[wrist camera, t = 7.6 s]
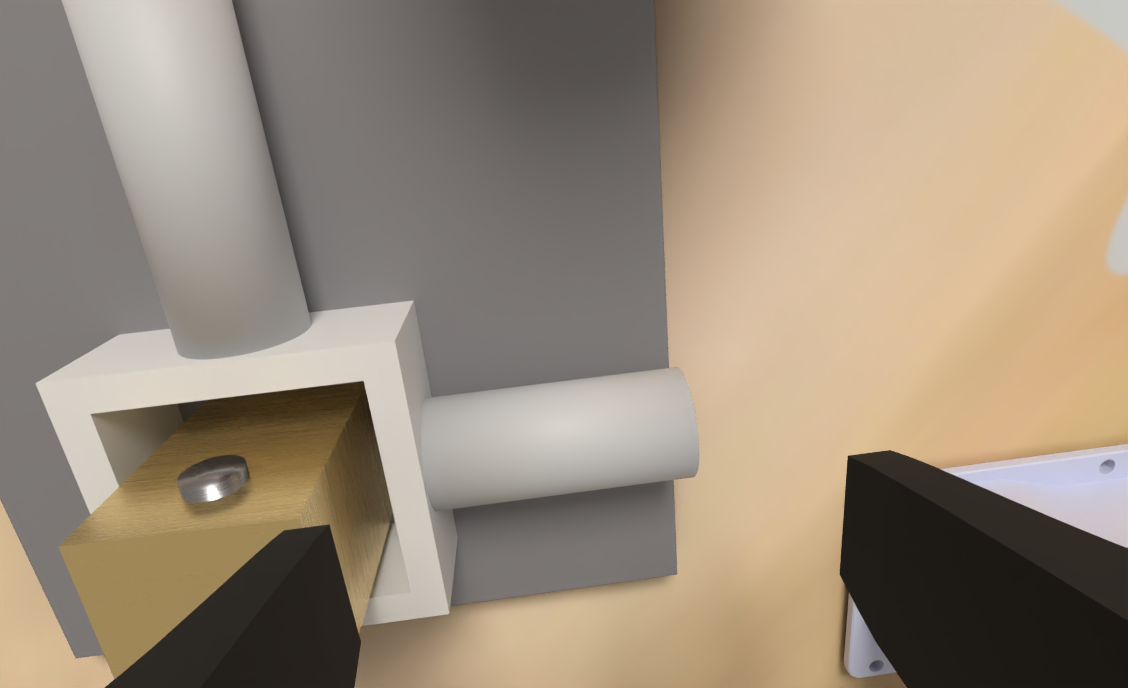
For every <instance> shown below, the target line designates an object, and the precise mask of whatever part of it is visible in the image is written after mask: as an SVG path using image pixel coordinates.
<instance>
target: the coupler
mask: <svg viewBox="0 0 1128 688" xmlns="http://www.w3.org/2000/svg"><path fill="white" fill-rule="evenodd" d="M392 514H393V510H392V505H391V501H390V496H389V492H388V487H387V483H386V478H385V474H384V469H383V465H382V460H381V456H380V451H379V447H378V443H377V438H376V434H375V429H374V425H373V420H372V416H371V411H370V407H369V402H368V398H367V393H366V389H365V384H364V382H355V383H346V384H336V385H327V386H317V387H309V388H300V389H292V390H284V391H276V392H267V393H259V394H251V395H243V396H234V397H226V398H218V399H210V400H207V401H206V402H205V403H204V404H203V405H202V406H201V407H200V408H199V409H198V410H197V411H196V412H195V413H194V414H193V415H192V416H191V417H190V418H189V419H188V420H187V421H186V422H185V423H184V424H183V425H182V426H181V427H180V428H179V429H178V430H177V431H176V432H174V433H173V434H172V435H171V436H170V437H169V438H168V439H167V440H166V441H165V442H164V443H163V444H162V445H161V446H160V447H159V448H158V449H157V450H156V451H155V452H154V453H153V454H152V455H151V456H150V457H149V458H148V459H147V460H146V461H145V462H144V463H143V464H142V465H141V466H140V467H139V468H138V469H137V470H136V471H135V472H134V473H133V474H132V475H131V476H130V477H129V478H128V479H126V480H125V481H124V482H123V483H122V484H121V485H120V486H119V487H118V488H117V489H116V490H115V491H114V492H113V493H112V494H111V495H110V496H109V497H108V498H107V499H106V500H105V501H104V502H103V503H102V504H101V505H100V506H99V507H98V508H97V509H96V510H95V511H94V512H93V513H92V514H91V515H90V516H89V517H88V518H87V519H86V520H85V521H84V522H83V523H82V524H81V525H80V526H79V527H77V528H76V529H75V530H74V531H73V532H72V533H71V534H70V535H69V536H68V537H67V538H66V539H65V540H64V541H63V542H62V543H61V544H60V545H59V546H58V548H59V550H60V552H61V555H62V557H63V559H64V562H65V564H66V566H67V569H68V571H69V573H70V576H71V578H72V580H73V583H74V585H75V587H76V590H77V592H78V594H79V597H80V599H81V601H82V604H83V606H84V608H85V611H86V613H87V616H88V618H89V620H90V623H91V625H92V627H93V630H94V632H95V634H96V637H97V639H98V641H99V644H100V646H101V648H102V651H103V653H104V655H105V658H106V660H107V662H108V665H109V667H110V669H111V672H112V674H113V676H114V679H116V678H117V677H118V676H119V675H120V674H122V673H123V672H124V671H125V670H126V669H128V668H129V667H130V666H131V665H132V664H134V663H135V662H136V661H137V660H138V659H139V658H141V657H142V656H143V655H144V654H145V653H147V652H148V651H149V650H150V649H151V648H152V647H154V646H155V645H156V644H157V643H158V642H159V641H160V640H161V639H163V638H164V637H165V636H166V635H167V634H168V633H169V632H170V631H171V630H173V629H174V628H175V627H176V626H177V625H178V624H179V623H180V622H181V621H182V620H184V619H185V618H186V617H187V616H188V615H189V614H190V613H191V612H192V611H194V610H195V609H196V608H197V607H198V606H199V605H200V604H201V603H202V602H204V601H205V600H206V599H207V598H208V597H209V596H210V595H211V594H212V593H214V592H215V591H216V590H217V589H218V588H219V587H220V586H221V585H222V584H223V583H224V582H226V581H227V580H228V579H229V578H230V577H231V576H232V575H233V574H234V573H235V572H236V571H238V570H239V569H240V568H241V567H242V566H243V565H244V564H245V563H246V562H247V561H249V560H250V559H251V558H252V557H253V556H254V555H255V554H256V553H257V552H259V551H260V550H261V549H262V548H263V547H264V546H265V545H267V544H268V543H269V542H270V541H271V540H272V539H274V538H275V537H276V536H277V535H279V534H280V533H281V532H282V531H284V530H290V529H298V528H305V527H313V526H321V525H328V524H330V528H331V532H332V536H333V539H334V543H335V547H336V551H337V554H338V558H339V562H340V566H341V569H342V573H343V577H344V581H345V584H346V588H347V592H348V596H349V599H350V603H351V607H352V611H353V614H354V618H355V622H356V626H357V629H358V633H359V634H360V630H361V626H362V623H363V619H364V615H365V612H366V608H367V605H368V601H369V597H370V594H371V590H372V586H373V583H374V579H375V576H376V572H377V568H378V565H379V561H380V557H381V554H382V550H383V547H384V543H385V539H386V536H387V532H388V528H389V525H390V521H391V517H392Z"/></svg>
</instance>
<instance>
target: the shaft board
mask: <svg viewBox="0 0 1128 688" xmlns="http://www.w3.org/2000/svg"><path fill="white" fill-rule="evenodd" d="M355 382H364V384H365V389H366V393H367V398H368V402H369V407H370V411H371V416H372V420H373V425H374V429H375V434H376V438H377V443H378V447H379V451H380V456H381V460H382V465H383V469H384V474H385V478H386V483H387V487H388V492H389V496H390V501H391V505H392V510H393V514H392V517H391V521H390V525H389V528H388V532H387V536H386V539H385V543H384V547H383V550H382V554H381V557H380V561H379V565H378V568H377V572H376V576H375V579H374V583H373V586H372V590H371V594H370V597H369V601H368V605H367V608H366V612H365V615H364V619H363V623H362V626H367V625H374V624H382V623H389V622H396V621H403V620H410V619H417V618H424V617H432V616H439V615H446V614H450V606H454V605H461V604H468V603H475V602H482V601H490V600H497V599H504V598H511V597H518V596H525V595H533V594H540V593H547V592H554V591H561V590H568V589H576V588H583V587H590V586H597V585H604V584H611V583H619V582H626V581H633V580H640V579H647V578H654V577H662V576H669V575H676V574H677V555H676V530H675V506H674V481H673V480H675V479H683V478H691V477H694V476H695V475H696V474H697V471H698V465H699V437H698V428H697V421H696V414H695V409H694V404H693V400H692V396H691V393H690V389H689V386H688V383H687V381H686V378H685V376H684V374H683V372H682V371H681V370H680V369H679V368H678V367H673V368H669V359H668V334H667V310H666V285H665V261H664V236H663V212H662V187H661V163H660V138H659V114H658V89H657V65H656V40H655V16H654V0H0V500H1V502H2V504H3V506H4V508H5V510H6V512H7V515H8V517H9V519H10V521H11V523H12V525H13V527H14V529H15V531H16V533H17V536H18V538H19V540H20V542H21V544H22V546H23V548H24V550H25V552H26V555H27V557H28V559H29V561H30V563H31V565H32V567H33V569H34V571H35V574H36V576H37V578H38V580H39V582H40V584H41V586H42V588H43V590H44V592H45V595H46V597H47V599H48V601H49V603H50V605H51V607H52V609H53V611H54V614H55V616H56V618H57V620H58V622H59V624H60V626H61V628H62V630H63V633H64V635H65V637H66V639H67V641H68V643H69V645H70V647H71V649H72V651H73V654H74V656H75V658H81V657H89V656H96V655H103V654H104V653H103V651H102V648H101V646H100V644H99V641H98V639H97V637H96V634H95V632H94V630H93V627H92V625H91V623H90V620H89V618H88V616H87V613H86V611H85V608H84V606H83V604H82V601H81V599H80V597H79V594H78V592H77V590H76V587H75V585H74V583H73V580H72V578H71V576H70V573H69V571H68V569H67V566H66V564H65V562H64V559H63V557H62V555H61V552H60V550H59V548H58V546H59V545H60V544H61V543H62V542H63V541H64V540H65V539H66V538H67V537H68V536H69V535H70V534H71V533H72V532H73V531H74V530H75V529H76V528H77V527H79V526H80V525H81V524H82V523H83V522H84V521H85V520H86V519H87V518H88V517H89V516H90V515H91V514H92V513H93V512H94V511H95V510H96V509H97V508H98V507H99V506H100V505H101V504H102V503H103V502H104V501H105V500H106V499H107V498H108V497H109V496H110V495H111V494H112V493H113V492H114V491H115V490H116V489H117V488H118V487H119V486H120V485H121V484H122V483H123V482H124V481H125V480H126V479H128V478H129V477H130V476H131V475H132V474H133V473H134V472H135V471H136V470H137V469H138V468H139V467H140V466H141V465H142V464H143V463H144V462H145V461H146V460H147V459H148V458H149V457H150V456H151V455H152V454H153V453H154V452H155V451H156V450H157V449H158V448H159V447H160V446H161V445H162V444H163V443H164V442H165V441H166V440H167V439H168V438H169V437H170V436H171V435H172V434H173V433H174V432H176V431H177V430H178V429H179V428H180V427H181V426H182V425H183V424H184V423H185V422H186V421H187V420H188V419H189V418H190V417H191V416H192V415H193V414H194V413H195V412H196V411H197V410H198V409H199V408H200V407H201V406H202V405H203V404H204V403H205V402H206V401H207V400H210V399H218V398H226V397H234V396H243V395H251V394H259V393H267V392H276V391H284V390H292V389H300V388H309V387H317V386H327V385H336V384H346V383H355Z"/></svg>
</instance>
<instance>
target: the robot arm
mask: <svg viewBox="0 0 1128 688" xmlns="http://www.w3.org/2000/svg"><path fill="white" fill-rule="evenodd" d="M840 576H841V578H842V580H843V582H844V584H845V586H846V587H847V589H848V591H849V600H848V613H847V626H846V640H845V653H844V666H845V668H846V669H847V671H848V673H849V674H850V675H851V676H853V677H855V678H864V677H870V676H877V675H884V674H890V673H897V674H898V675H899V677H900V678H901V679H902V681H903V682H904V684H905V685H906V687H907V688H1128V444H1123V445H1116V446H1108V447H1101V448H1094V449H1086V450H1079V451H1071V452H1064V453H1056V454H1049V455H1041V456H1034V457H1026V458H1019V459H1011V460H1004V461H997V462H989V463H982V464H974V465H967V466H959V467H952V468H944V469H938V468H936V467H934V466H931V465H929V464H926V463H924V462H921V461H919V460H916V459H914V458H911V457H908V456H906V455H903V454H900V453H897V452H894V451H891V450H889V451H881V452H873V453H866V454H858V455H851V456H848V461H847V476H846V490H845V505H844V519H843V534H842V548H841V563H840ZM360 645H361V640H360V637H359V633H358V629H357V626H356V622H355V618H354V614H353V611H352V607H351V603H350V599H349V596H348V592H347V588H346V584H345V581H344V577H343V573H342V569H341V566H340V562H339V558H338V554H337V551H336V547H335V543H334V539H333V536H332V532H331V528H330V524H328V525H321V526H313V527H305V528H298V529H290V530H284V531H282V532H281V533H280V534H279V535H277V536H276V537H275V538H274V539H272V540H271V541H270V542H269V543H268V544H267V545H265V546H264V547H263V548H262V549H261V550H260V551H259V552H257V553H256V554H255V555H254V556H253V557H252V558H251V559H250V560H249V561H247V562H246V563H245V564H244V565H243V566H242V567H241V568H240V569H239V570H238V571H236V572H235V573H234V574H233V575H232V576H231V577H230V578H229V579H228V580H227V581H226V582H224V583H223V584H222V585H221V586H220V587H219V588H218V589H217V590H216V591H215V592H214V593H212V594H211V595H210V596H209V597H208V598H207V599H206V600H205V601H204V602H202V603H201V604H200V605H199V606H198V607H197V608H196V609H195V610H194V611H192V612H191V613H190V614H189V615H188V616H187V617H186V618H185V619H184V620H182V621H181V622H180V623H179V624H178V625H177V626H176V627H175V628H174V629H173V630H171V631H170V632H169V633H168V634H167V635H166V636H165V637H164V638H163V639H161V640H160V641H159V642H158V643H157V644H156V645H155V646H154V647H152V648H151V649H150V650H149V651H148V652H147V653H145V654H144V655H143V656H142V657H141V658H139V659H138V660H137V661H136V662H135V663H134V664H132V665H131V666H130V667H129V668H128V669H126V670H125V671H124V672H123V673H122V674H120V675H119V676H118V677H117V678H116V679H115V680H113V681H112V682H111V683H110V684H109V685H107V686H106V687H105V688H354V686H355V679H356V672H357V665H358V658H359V651H360Z"/></svg>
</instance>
